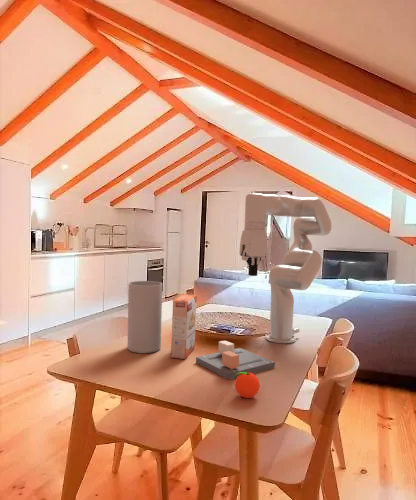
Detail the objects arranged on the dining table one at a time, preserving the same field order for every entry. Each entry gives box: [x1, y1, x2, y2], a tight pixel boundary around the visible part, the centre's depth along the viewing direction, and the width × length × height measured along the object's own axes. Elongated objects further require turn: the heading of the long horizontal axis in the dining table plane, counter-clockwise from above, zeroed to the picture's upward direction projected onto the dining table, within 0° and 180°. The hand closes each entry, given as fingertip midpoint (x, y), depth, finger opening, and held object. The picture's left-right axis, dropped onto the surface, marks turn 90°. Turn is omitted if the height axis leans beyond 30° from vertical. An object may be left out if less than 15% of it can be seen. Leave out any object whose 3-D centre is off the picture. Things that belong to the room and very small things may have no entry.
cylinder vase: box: [126, 280, 163, 354], centre depth 155 cm, size 12×12×25 cm
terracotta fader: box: [222, 351, 239, 369], centre depth 133 cm, size 3×5×4 cm, turn 36°
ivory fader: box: [217, 340, 235, 354], centre depth 144 cm, size 3×5×4 cm, turn 36°
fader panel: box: [195, 347, 276, 381], centre depth 141 cm, size 20×18×2 cm
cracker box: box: [170, 293, 198, 360], centre depth 151 cm, size 14×6×21 cm, turn 168°
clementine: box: [233, 372, 261, 399], centre depth 115 cm, size 8×7×7 cm
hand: (252, 275), depth 155 cm, fingers closed
